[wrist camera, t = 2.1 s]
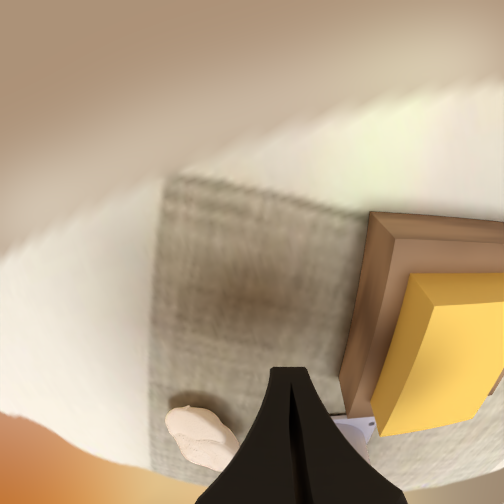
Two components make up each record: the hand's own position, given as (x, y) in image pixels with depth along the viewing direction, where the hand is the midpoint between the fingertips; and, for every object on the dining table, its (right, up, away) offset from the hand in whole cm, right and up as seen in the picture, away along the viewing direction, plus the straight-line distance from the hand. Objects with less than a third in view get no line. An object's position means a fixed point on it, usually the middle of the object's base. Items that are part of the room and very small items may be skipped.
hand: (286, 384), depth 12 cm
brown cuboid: (+10, +2, +5) cm, 11 cm away
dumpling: (-5, -7, +10) cm, 13 cm away
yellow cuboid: (+8, 0, +1) cm, 8 cm away
